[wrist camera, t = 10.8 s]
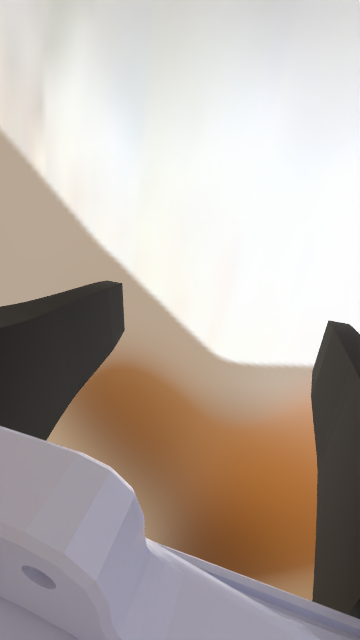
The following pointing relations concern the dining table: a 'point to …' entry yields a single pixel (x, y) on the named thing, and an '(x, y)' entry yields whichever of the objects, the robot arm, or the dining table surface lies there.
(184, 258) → the dining table surface
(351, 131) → the dining table surface
